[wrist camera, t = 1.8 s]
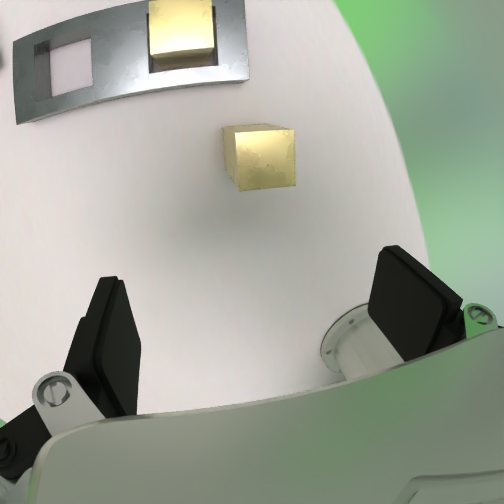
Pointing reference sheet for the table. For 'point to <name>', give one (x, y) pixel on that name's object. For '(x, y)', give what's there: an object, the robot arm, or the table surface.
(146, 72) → the peg holder block
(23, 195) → the table surface
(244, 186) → the brass square peg
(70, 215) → the table surface
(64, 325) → the table surface
